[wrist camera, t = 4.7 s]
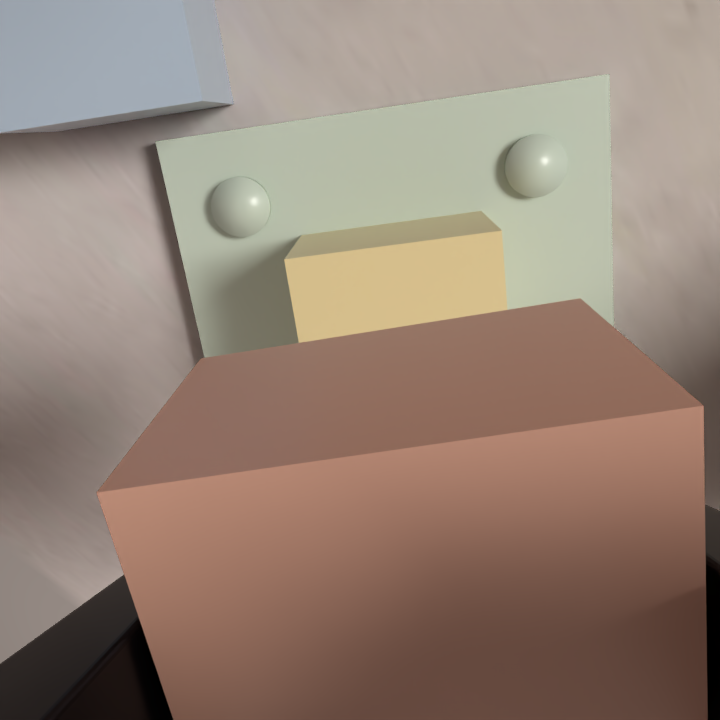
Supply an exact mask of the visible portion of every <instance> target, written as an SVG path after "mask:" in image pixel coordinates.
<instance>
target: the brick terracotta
mask: <svg viewBox="0 0 720 720" xmlns="http://www.w3.org/2000/svg"><path fill="white" fill-rule="evenodd" d="M97 496H98V498H99V501H100V504H101V507H102V510H103V513H104V516H105V519H106V522H107V525H108V528H109V531H110V534H111V537H112V540H113V543H114V546H115V549H116V552H117V555H118V558H119V561H120V563H121V566H122V569H123V572H124V575H125V578H126V581H127V584H128V587H129V590H130V593H131V596H132V599H133V602H134V605H135V608H136V611H137V614H138V617H139V620H140V623H141V626H142V628H143V631H144V634H145V637H146V640H147V643H148V646H149V649H150V652H151V655H152V658H153V661H154V664H155V667H156V670H157V673H158V676H159V679H160V682H161V685H162V688H163V691H164V693H165V696H166V699H167V702H168V705H169V708H170V711H171V714H172V717H173V720H708V703H707V626H706V548H705V471H704V406H703V405H702V404H701V403H700V402H699V401H698V400H697V399H695V398H694V397H693V396H692V395H691V394H690V393H689V392H687V391H686V390H685V389H684V388H683V387H682V386H681V385H679V384H678V383H677V382H676V381H675V380H674V379H673V378H671V377H670V376H669V375H668V374H667V373H666V372H664V371H663V370H662V369H661V368H660V367H659V366H658V365H656V364H655V363H654V362H653V361H652V360H651V359H650V358H648V357H647V356H646V355H645V354H644V353H643V352H642V351H640V350H639V349H638V348H637V347H636V346H635V345H634V344H632V343H631V342H630V341H629V340H628V339H627V338H625V337H624V336H623V335H622V334H621V333H620V332H619V331H617V330H616V329H615V328H614V327H613V326H612V325H611V324H609V323H608V322H607V321H606V320H605V319H604V318H603V317H601V316H600V315H599V314H598V313H597V312H596V311H594V310H593V309H592V308H591V307H590V306H589V305H588V304H586V303H585V302H584V301H583V300H582V299H581V298H579V299H572V300H566V301H560V302H554V303H547V304H541V305H535V306H528V307H522V308H516V309H509V310H503V311H497V312H491V313H484V314H478V315H472V316H465V317H459V318H453V319H446V320H440V321H434V322H427V323H421V324H415V325H409V326H402V327H396V328H390V329H383V330H377V331H371V332H364V333H358V334H352V335H345V336H339V337H333V338H327V339H320V340H314V341H308V342H301V343H295V344H289V345H282V346H276V347H270V348H264V349H257V350H251V351H245V352H238V353H232V354H226V355H219V356H213V357H207V358H201V359H200V360H199V361H198V363H197V364H196V365H195V366H194V368H193V369H192V370H191V372H190V373H189V374H188V375H187V377H186V378H185V379H184V381H183V382H182V383H181V384H180V386H179V387H178V388H177V390H176V391H175V392H174V393H173V395H172V396H171V397H170V399H169V400H168V401H167V403H166V404H165V405H164V406H163V408H162V409H161V410H160V412H159V413H158V414H157V415H156V417H155V418H154V419H153V421H152V422H151V423H150V424H149V426H148V427H147V428H146V430H145V431H144V432H143V433H142V435H141V436H140V437H139V439H138V440H137V441H136V442H135V444H134V445H133V446H132V448H131V449H130V450H129V451H128V453H127V454H126V455H125V457H124V458H123V459H122V460H121V462H120V463H119V464H118V466H117V467H116V468H115V469H114V471H113V472H112V473H111V475H110V476H109V477H108V478H107V480H106V481H105V482H104V484H103V485H102V486H101V487H100V489H99V490H98V491H97Z"/></svg>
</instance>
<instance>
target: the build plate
mask: <svg viewBox="0 0 720 720" xmlns="http://www.w3.org/2000/svg"><path fill="white" fill-rule="evenodd" d="M155 142H156V147H157V151H158V155H159V160H160V164H161V169H162V173H163V177H164V182H165V186H166V191H167V195H168V200H169V204H170V208H171V213H172V217H173V222H174V226H175V230H176V235H177V239H178V244H179V248H180V252H181V257H182V261H183V266H184V270H185V274H186V279H187V283H188V288H189V292H190V297H191V301H192V305H193V310H194V314H195V319H196V323H197V327H198V332H199V336H200V341H201V345H202V349H203V354H204V358H207V357H213V356H219V355H226V354H232V353H238V352H245V351H251V350H257V349H264V348H270V347H276V346H282V345H289V344H295V343H301V342H308V341H314V340H320V339H327V338H333V337H339V336H345V335H352V334H358V333H364V332H371V331H377V330H383V329H390V328H396V327H402V326H409V325H415V324H421V323H427V322H434V321H440V320H446V319H453V318H459V317H465V316H472V315H478V314H484V313H491V312H497V311H503V310H509V309H516V308H522V307H528V306H535V305H541V304H547V303H554V302H560V301H566V300H572V299H579V298H581V299H582V300H583V301H584V302H585V303H586V304H588V305H589V306H590V307H591V308H592V309H593V310H594V311H596V312H597V313H598V314H599V315H600V316H601V317H603V318H604V319H605V320H606V321H607V322H608V323H609V324H611V325H612V326H613V327H614V312H613V253H612V194H611V135H610V76H609V74H606V75H599V76H592V77H586V78H579V79H572V80H565V81H559V82H552V83H545V84H538V85H532V86H525V87H518V88H512V89H505V90H498V91H491V92H485V93H478V94H471V95H465V96H458V97H451V98H444V99H438V100H431V101H424V102H417V103H411V104H404V105H397V106H391V107H384V108H377V109H370V110H364V111H357V112H350V113H344V114H337V115H330V116H323V117H317V118H310V119H303V120H296V121H290V122H283V123H276V124H270V125H263V126H256V127H249V128H243V129H236V130H229V131H222V132H216V133H209V134H202V135H196V136H189V137H182V138H175V139H169V140H162V141H155Z"/></svg>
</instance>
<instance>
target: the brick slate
mask: <svg viewBox="0 0 720 720" xmlns="http://www.w3.org/2000/svg"><path fill="white" fill-rule="evenodd" d="M232 104H234V103H233V97H232V92H231V87H230V82H229V77H228V71H227V66H226V61H225V56H224V50H223V45H222V40H221V35H220V29H219V24H218V19H217V14H216V8H215V3H214V0H0V133H29V132H59V131H65V130H72V129H78V128H84V127H91V126H97V125H104V124H110V123H117V122H123V121H129V120H136V119H142V118H149V117H155V116H162V115H168V114H174V113H181V112H187V111H194V110H200V109H206V108H213V107H219V106H226V105H232Z"/></svg>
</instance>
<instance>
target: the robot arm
mask: <svg viewBox="0 0 720 720" xmlns="http://www.w3.org/2000/svg"><path fill="white" fill-rule="evenodd" d="M705 548H706V626H707V703H708V720H720V511H718V510H716V509H714V508H711V507H709V506H707V505H705ZM0 720H173V717H172V714H171V711H170V708H169V705H168V702H167V699H166V696H165V693H164V691H163V688H162V685H161V682H160V679H159V676H158V673H157V670H156V667H155V664H154V661H153V658H152V655H151V652H150V649H149V646H148V643H147V640H146V637H145V634H144V631H143V628H142V626H141V623H140V620H139V617H138V614H137V611H136V608H135V605H134V602H133V599H132V596H131V593H130V590H129V587H128V584H127V581H126V578H125V575H123V576H121V577H120V578H119V579H117V580H116V581H114V582H113V583H112V584H110V585H109V586H108V587H106V588H105V589H103V590H102V591H101V592H99V593H98V594H96V595H95V596H94V597H92V598H91V599H90V600H88V601H87V602H85V603H84V604H83V605H81V606H80V607H78V608H77V609H76V610H74V611H73V612H71V613H70V614H69V615H67V616H66V617H65V618H63V619H62V620H60V621H59V622H58V623H56V624H55V625H53V626H52V627H51V628H49V629H48V630H46V631H45V632H44V633H42V634H41V635H40V636H38V637H37V638H35V639H34V640H33V641H31V642H30V643H28V644H27V645H26V646H24V647H23V648H21V649H20V650H19V651H17V652H16V653H15V654H13V655H12V656H10V657H9V658H8V659H6V660H5V661H3V662H2V663H1V664H0Z"/></svg>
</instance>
